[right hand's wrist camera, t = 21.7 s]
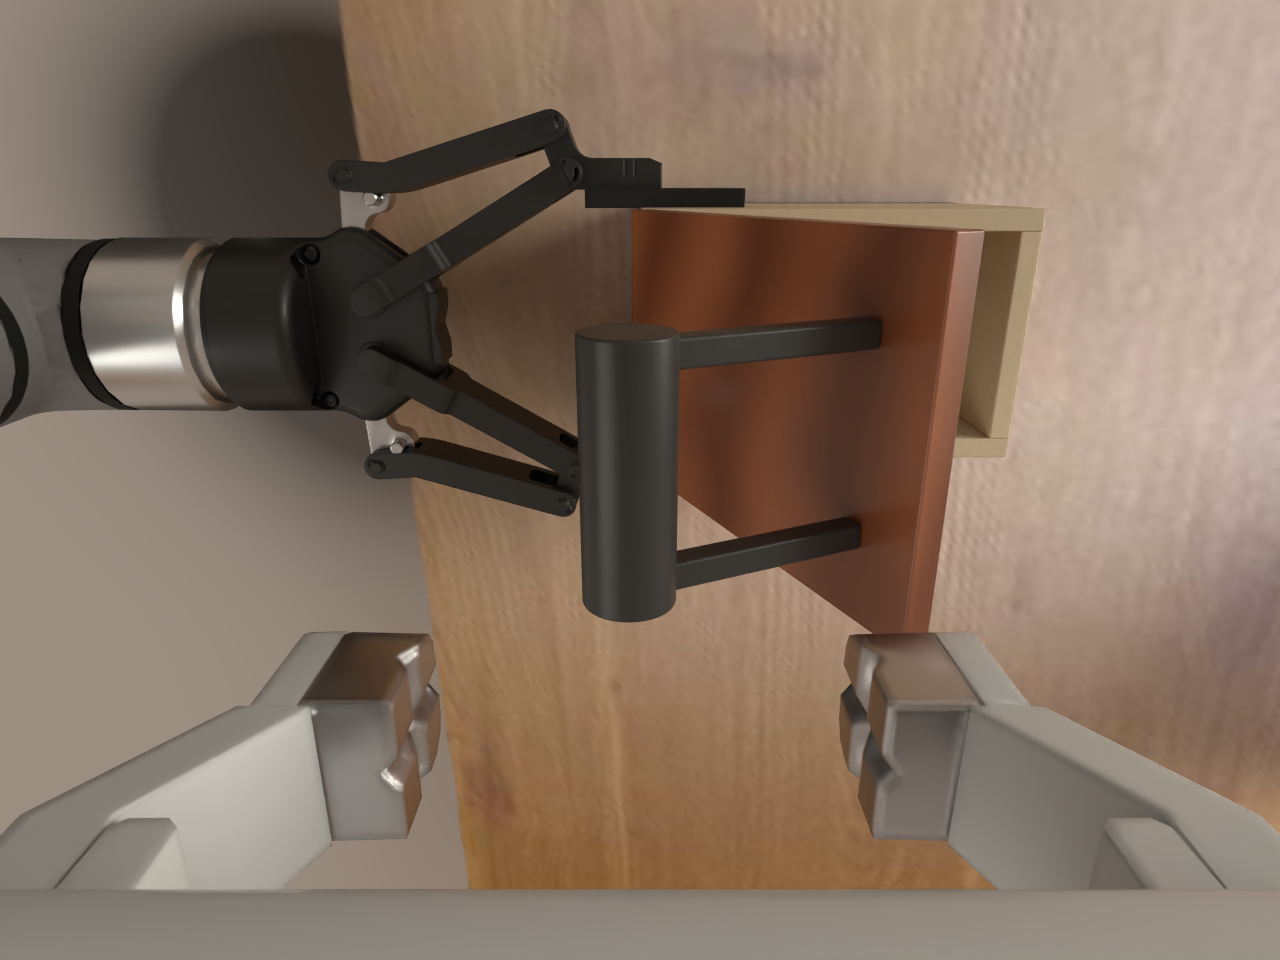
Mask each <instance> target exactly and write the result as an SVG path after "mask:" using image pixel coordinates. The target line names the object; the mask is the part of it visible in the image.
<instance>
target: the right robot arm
mask: <svg viewBox="0 0 1280 960" xmlns="http://www.w3.org/2000/svg"><path fill="white" fill-rule="evenodd" d="M435 666H436V660H435V653H434V645H433V641H432V639H431V637H430V635H429V634H419V633H367V632H351V633H349V632H311V633H307V634H304V635H303V636H302V638H301V639H300V640H299V642H298V643H297V644H296V645H295V647H294V648H293V649H292V651H291V652H290V653H289V655H288V656H287V657H286V659H285V660H284V661H283V663H282V664H281V665H280V666H279V668H278V669H277V670H276V672H275V673H274V674H273V676H272V677H271V678H270V680H269V681H268V682H267V684H266V685H265V686H264V688H263V689H262V690H261V692H260V693H259V694H258V695H257V697H256V698H255V699H254V701H253V702H252V703H251V705H250V706H236V707H234V708H232V709H230V710H228V711H226V712H224V713H222V714H220V715H218V716H216V717H214V718H212V719H210V720H208V721H206V722H204V723H202V724H200V725H198V726H196V727H194V728H192V729H190V730H188V731H186V732H184V733H182V734H180V735H178V736H176V737H174V738H172V739H170V740H168V741H166V742H164V743H162V744H160V745H158V746H156V747H154V748H152V749H150V750H148V751H146V752H144V753H142V754H140V755H138V756H136V757H134V758H132V759H130V760H128V761H126V762H124V763H122V764H120V765H118V766H116V767H114V768H112V769H110V770H108V771H106V772H104V773H102V774H100V775H98V776H97V777H95V778H93V779H90V780H89V781H87V782H85V783H83V784H81V785H79V786H77V787H75V788H73V789H71V790H69V791H67V792H65V793H63V794H61V795H59V796H57V797H55V798H53V799H51V800H49V801H47V802H45V803H43V804H41V805H39V806H37V807H35V808H33V809H31V810H29V811H27V812H25V813H23V814H21V815H20V816H19V817H18V818H17V819H16V820H15V821H14V822H13V823H12V824H11V825H10V826H9V827H8V828H7V829H6V830H5V831H4V832H3V833H2V834H1V835H0V960H1280V835H1279V834H1278V833H1277V832H1276V830H1275V829H1274V828H1273V827H1272V826H1271V825H1270V824H1269V823H1268V822H1267V821H1266V820H1265V819H1264V818H1263V817H1262V816H1261V815H1259V814H1257V813H1255V812H1253V811H1251V810H1249V809H1247V808H1245V807H1243V806H1241V805H1239V804H1237V803H1235V802H1233V801H1231V800H1229V799H1227V798H1225V797H1223V796H1221V795H1219V794H1217V793H1215V792H1213V791H1211V790H1209V789H1207V788H1205V787H1203V786H1201V785H1199V784H1197V783H1195V782H1193V781H1191V780H1189V779H1187V778H1185V777H1183V776H1181V775H1179V774H1177V773H1175V772H1173V771H1171V770H1169V769H1167V768H1165V767H1163V766H1161V765H1159V764H1157V763H1155V762H1153V761H1151V760H1149V759H1147V758H1145V757H1143V756H1141V755H1139V754H1137V753H1135V752H1133V751H1131V750H1130V749H1128V748H1126V747H1124V746H1122V745H1120V744H1118V743H1116V742H1114V741H1112V740H1110V739H1108V738H1106V737H1104V736H1102V735H1100V734H1098V733H1096V732H1094V731H1092V730H1090V729H1088V728H1086V727H1084V726H1082V725H1080V724H1078V723H1076V722H1074V721H1072V720H1070V719H1068V718H1066V717H1064V716H1062V715H1060V714H1058V713H1056V712H1054V711H1052V710H1050V709H1048V708H1046V707H1044V706H1030V705H1029V703H1028V702H1027V701H1026V699H1025V698H1024V697H1023V696H1022V694H1021V693H1020V692H1019V690H1018V689H1017V688H1016V686H1015V685H1014V684H1013V682H1012V681H1011V680H1010V679H1009V677H1008V676H1007V675H1006V673H1005V672H1004V671H1003V669H1002V668H1001V667H1000V665H999V664H998V663H997V662H996V660H995V659H994V658H993V656H992V655H991V654H990V652H989V651H988V650H987V648H986V647H985V646H984V645H983V643H982V642H981V641H980V639H979V638H978V637H977V635H975V634H973V633H971V632H969V631H962V632H937V633H893V634H855V635H849V638H848V642H847V645H846V651H845V659H844V666H845V668H846V671H847V673H848V676H849V678H850V680H851V684H850V685H849V686H848V688H847V689H846V690H845V691H844V692H843V693H842V694H841V700H840V714H839V723H840V740H841V745H842V750H843V755H844V758H845V761H846V764H847V767H848V770H849V771H850V772H851V773H853V774H854V775H855V776H857V777H858V778H859V779H860V784H859V793H858V798H859V801H860V803H861V806H862V809H863V812H864V814H865V817H866V820H867V822H868V825H869V828H870V831H871V833H872V836H873V839H900V840H936V841H948V845H949V846H950V847H951V848H952V849H953V850H954V851H956V852H957V853H958V854H959V855H960V856H961V857H962V858H963V859H964V860H966V861H967V862H968V863H969V864H970V865H971V866H972V867H973V868H974V869H976V870H977V871H978V872H979V873H980V874H981V875H982V876H983V877H984V878H986V879H987V880H988V881H989V882H990V883H991V884H992V885H993V886H994V887H996V888H997V889H284V888H285V887H286V886H287V885H288V884H289V883H290V882H291V881H293V880H294V879H295V878H296V877H297V876H298V875H299V874H300V873H301V872H303V871H304V870H305V869H306V868H307V867H308V866H309V865H310V864H311V863H313V862H314V861H315V860H316V859H317V858H318V857H319V856H320V855H322V854H323V853H324V852H325V851H326V850H327V849H328V848H329V847H330V846H332V841H343V840H378V839H407V836H408V834H409V831H410V828H411V825H412V823H413V820H414V817H415V814H416V812H417V809H418V806H419V803H420V801H421V798H422V793H421V784H420V779H421V778H422V777H423V776H425V775H426V774H427V773H429V772H430V771H431V770H432V767H433V764H434V761H435V758H436V755H437V750H438V743H439V737H440V727H441V710H440V699H439V694H438V693H437V692H436V691H435V690H434V689H433V688H432V686H431V685H430V684H429V680H430V678H431V675H432V673H433V671H434V668H435Z"/></svg>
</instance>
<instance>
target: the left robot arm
mask: <svg viewBox="0 0 1280 960" xmlns="http://www.w3.org/2000/svg"><path fill="white" fill-rule="evenodd" d="M541 150H545V152H546V155H547V158H548V160H549V163H550V167H548V168H547V169H545V170H544V171H542V172H541V173H539V174H537V175H536V176H534V177H533V178H531V179H530V180H528V181H527V182H525V183H523V184H522V185H520V186H519V187H517V188H516V189H514V190H512V191H511V192H509V193H508V194H506V195H505V196H503V197H502V198H500V199H498V200H497V201H495V202H494V203H492V204H491V205H489V206H487V207H486V208H484V209H483V210H481V211H480V212H478V213H477V214H475V215H473V216H472V217H470V218H469V219H467V220H466V221H464V222H462V223H461V224H459V225H458V226H456V227H455V228H453V229H452V230H450V231H448V232H447V233H445V234H444V235H442V236H441V237H439V238H437V239H436V240H434V241H432V242H430V243H429V244H427V245H425V246H423V247H422V248H420V249H419V250H417V251H416V252H414V253H412V254H411V255H409V254H408V253H407V252H405V251H404V250H402V249H401V248H399V247H398V246H397V245H395V244H394V243H392V242H391V241H389V240H388V239H387V238H385V237H384V236H382V235H381V234H380V233H378V232H377V231H375V230H374V229H372V222H373V219H374V218H375V217H376V215H378V214H380V213H384V212H388V211H389V210H391V209H392V208H393V207H394V204H395V193H404V192H412V191H416V190H420V189H423V188H426V187H430V186H433V185H436V184H439V183H442V182H445V181H448V180H451V179H454V178H457V177H460V176H464V175H467V174H470V173H473V172H476V171H479V170H482V169H485V168H488V167H491V166H494V165H497V164H501V163H504V162H507V161H510V160H513V159H516V158H519V157H522V156H525V155H528V154H531V153H535V152H538V151H541ZM328 175H329V179H330V182H331V183H332V185H333V186H334V187H335V188H337V189H338V190H340V205H341V221H342V228H341V229H339V230H337V231H335V232H334V233H332V234H331V235H329V236H326V237H322V238H232V239H229V240H227V241H226V242H224V243H222V242H220V241H218V240H216V239H214V238H118V239H100V240H78V239H38V238H0V427H2V426H4V425H7V424H10V423H12V422H15V421H18V420H20V419H23V418H25V417H28V416H31V415H34V414H38V413H43V412H50V411H65V410H121V409H123V410H208V411H228V410H231V409H234V408H236V407H238V406H241V407H242V408H244V409H247V410H340V411H345V412H348V413H351V414H353V415H355V416H357V417H359V418H361V419H364V420H365V423H366V428H367V434H368V439H369V445H370V450H371V455H370V456H369V457H368V458H367V459H366V461H365V464H364V468H365V470H366V473H367V474H368V475H369V476H370V477H372V478H374V479H393V478H411V477H417V478H420V479H424V480H428V481H432V482H435V483H439V484H443V485H446V486H450V487H454V488H457V489H461V490H465V491H468V492H472V493H476V494H479V495H483V496H487V497H490V498H494V499H498V500H501V501H505V502H509V503H513V504H516V505H520V506H524V507H527V508H531V509H535V510H538V511H542V512H546V513H549V514H553V515H557V516H561V517H566V516H570V515H571V514H572V513H574V511H575V509H576V504H577V502H578V499H579V496H580V493H579V458H578V437H576V436H574V435H572V434H570V433H569V432H567V431H565V430H563V429H561V428H559V427H558V426H556V425H554V424H552V423H550V422H549V421H547V420H545V419H543V418H541V417H539V416H538V415H536V414H534V413H532V412H530V411H529V410H527V409H525V408H523V407H521V406H519V405H518V404H516V403H514V402H512V401H510V400H509V399H507V398H505V397H503V396H501V395H499V394H498V393H496V392H494V391H492V390H490V389H489V388H487V387H485V386H483V385H481V384H479V383H478V382H476V381H474V380H473V379H471V378H470V376H469V375H468V374H467V373H465V372H464V371H462V370H460V369H459V368H457V367H455V366H453V365H451V364H449V363H448V362H449V358H450V357H452V345H451V338H450V335H449V332H448V329H447V326H446V323H445V320H446V314H447V309H448V295H447V288H443V285H442V283H441V281H440V279H439V278H438V277H439V276H440V275H442V274H444V273H445V272H447V271H448V270H450V269H452V268H453V267H455V266H456V265H458V264H459V263H461V262H462V261H464V260H465V259H467V258H468V257H470V256H472V255H473V254H475V253H476V252H478V251H479V250H481V249H483V248H484V247H486V246H487V245H489V244H491V243H492V242H494V241H495V240H497V239H499V238H500V237H502V236H503V235H505V234H506V233H508V232H510V231H511V230H513V229H514V228H516V227H518V226H519V225H521V224H522V223H524V222H525V221H527V220H529V219H530V218H532V217H533V216H535V215H537V214H538V213H540V212H541V211H543V210H545V209H546V208H548V207H549V206H551V205H552V204H554V203H556V202H557V201H559V200H560V199H562V198H564V197H565V196H567V195H568V194H570V193H572V192H573V191H575V190H576V189H585V208H697V207H744V206H745V188H662V163H660V162H657V161H655V160H653V159H650V158H588V157H585V156H584V155H582V154H581V153H580V151H579V150H578V148H577V146H576V143H575V141H574V138H573V135H572V132H571V130H570V125H569V123H568V121H567V119H565V118H564V116H563V115H561V114H560V113H559V112H558V111H556V110H553V109H546V110H543V111H540V112H537V113H534V114H530V115H527V116H524V117H521V118H518V119H515V120H512V121H509V122H506V123H503V124H500V125H497V126H494V127H491V128H488V129H485V130H482V131H479V132H476V133H473V134H470V135H467V136H464V137H460V138H457V139H454V140H451V141H448V142H445V143H442V144H439V145H436V146H433V147H430V148H427V149H424V150H421V151H418V152H415V153H412V154H409V155H406V156H403V157H400V158H397V159H394V160H390V161H387V162H384V163H383V162H368V161H352V160H338V161H336V162H334V163H333V164H332V165H331V167H330V168H329V174H328ZM410 399H414V400H416V401H418V402H420V403H422V404H423V405H425V406H427V407H429V408H431V409H433V410H435V411H437V412H439V413H442V414H450V415H452V416H454V417H456V418H458V419H459V420H461V421H463V422H465V423H467V424H469V425H471V426H472V427H474V428H476V429H478V430H480V431H482V432H484V433H485V434H487V435H489V436H491V437H493V438H495V439H497V440H498V441H500V442H502V443H504V444H506V445H508V446H510V447H511V448H513V449H515V450H517V451H519V452H521V453H523V454H524V455H526V456H528V457H530V458H532V459H534V460H536V461H537V462H539V463H541V464H543V465H545V466H547V467H549V468H550V469H552V470H554V471H551V470H547V469H544V468H540V467H537V466H533V465H529V464H526V463H522V462H519V461H515V460H511V459H508V458H504V457H501V456H497V455H493V454H490V453H486V452H482V451H479V450H475V449H472V448H468V447H464V446H461V445H457V444H454V443H450V442H446V441H443V440H438V439H433V438H424V437H420V438H419V437H418V434H417V433H416V431H415V430H414V429H412V428H410V427H407V426H402V425H400V424H398V423H397V422H396V421H395V420H394V418H393V416H392V413H393V412H394V411H396V410H397V409H398V408H400V407H401V406H402V405H404V404H405V403H406V402H408V401H409V400H410ZM555 471H556V472H555Z"/></svg>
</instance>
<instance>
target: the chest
mask: <svg viewBox="0 0 1280 960" xmlns="http://www.w3.org/2000/svg"><path fill="white" fill-rule="evenodd" d="M640 209H653V210H670V211H686V212H703V213H720V214H736V215H753V216H769V217H786V218H803V219H819V220H836V221H853V222H869V223H886V224H902V225H919V226H936V227H952V228H969V229H982V230H984V240H983V247H982V254H981V261H980V268H979V275H978V282H977V289H976V296H975V303H974V310H973V318H972V325H971V332H970V339H969V346H968V353H967V360H966V367H965V374H964V381H963V388H962V396H961V403H960V410H959V417H958V424H957V431H956V438H955V445H954V452H953V457H1005V456H1006V451H1007V445H1008V437H1009V432H1010V426H1011V420H1012V414H1013V408H1014V401H1015V395H1016V389H1017V383H1018V377H1019V371H1020V365H1021V359H1022V353H1023V347H1024V341H1025V335H1026V329H1027V323H1028V317H1029V311H1030V304H1031V298H1032V292H1033V286H1034V280H1035V274H1036V268H1037V262H1038V256H1039V250H1040V244H1041V238H1042V232H1041V231H1043V226H1044V220H1045V214H1046V209H1044V208H1027V207H1010V206H994V205H977V204H960V203H745V206H744V207H697V208H640Z"/></svg>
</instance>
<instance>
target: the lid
mask: <svg viewBox="0 0 1280 960" xmlns="http://www.w3.org/2000/svg"><path fill="white" fill-rule="evenodd" d="M983 240H984V230H982V229H969V228H952V227H936V226H919V225H902V224H886V223H869V222H853V221H836V220H819V219H803V218H786V217H769V216H753V215H736V214H720V213H703V212H686V211H670V210H653V209H640V210H632V323H618V324H603V325H595V326H589V327H585V328H582V329H580V330H578V331H576V333H575V355H576V389H577V424H578V458H579V493H580V527H581V561H582V596H583V603H584V605H585V607H586V609H587V610H588V611H590V612H591V613H592V614H594V615H596V616H598V617H600V618H603V619H606V620H610V621H616V622H641V621H647V620H651V619H655V618H657V617H660V616H662V615H664V614H665V613H667V612H668V611H669V610H671V608H672V607H673V606H674V604H675V601H676V590H677V589H681V588H686V587H690V586H695V585H699V584H704V583H708V582H712V581H717V580H721V579H726V578H730V577H735V576H739V575H743V574H748V573H752V572H757V571H761V570H766V569H770V568H775V567H780V568H782V569H783V570H785V571H786V572H787V573H789V574H790V575H792V576H793V577H794V578H796V579H797V580H799V581H800V582H801V583H803V584H804V585H806V586H807V587H808V588H810V589H811V590H813V591H814V592H815V593H817V594H818V595H820V596H821V597H822V598H824V599H825V600H827V601H828V602H829V603H831V604H832V605H834V606H835V607H836V608H838V609H839V610H841V611H842V612H843V613H845V614H846V615H848V616H849V617H851V618H852V619H853V620H855V621H856V622H858V623H859V624H860V625H862V626H863V627H865V628H866V629H867V630H869V631H870V632H872V633H873V634H893V633H928V629H929V622H930V615H931V608H932V601H933V594H934V587H935V580H936V573H937V566H938V559H939V551H940V544H941V537H942V530H943V523H944V516H945V509H946V502H947V495H948V488H949V481H950V473H951V466H952V459H953V452H954V445H955V438H956V431H957V424H958V417H959V410H960V403H961V396H962V388H963V381H964V374H965V367H966V360H967V353H968V346H969V339H970V332H971V325H972V318H973V310H974V303H975V296H976V289H977V282H978V275H979V268H980V261H981V254H982V247H983ZM678 495H679V496H681V497H682V498H683V499H685V500H686V501H688V502H689V503H690V504H692V505H693V506H695V507H696V508H697V509H699V510H700V511H702V512H703V513H704V514H706V515H707V516H709V517H710V518H711V519H713V520H714V521H716V522H717V523H719V524H720V525H721V526H723V527H724V528H726V529H727V530H728V531H730V532H731V533H733V534H734V535H735V536H737V537H738V538H737V539H733V540H728V541H723V542H718V543H713V544H708V545H703V546H698V547H693V548H688V549H684V550H679V551H677V503H678Z"/></svg>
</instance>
